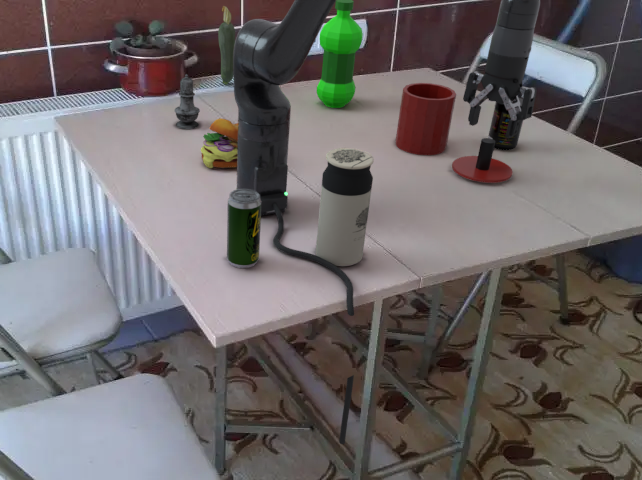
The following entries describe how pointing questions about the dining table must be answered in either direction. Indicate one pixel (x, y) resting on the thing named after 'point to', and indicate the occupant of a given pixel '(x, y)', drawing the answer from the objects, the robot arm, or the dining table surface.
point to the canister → (425, 118)
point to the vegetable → (226, 46)
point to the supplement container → (503, 128)
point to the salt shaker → (187, 106)
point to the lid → (483, 165)
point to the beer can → (243, 228)
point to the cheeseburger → (221, 145)
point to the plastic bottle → (339, 56)
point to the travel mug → (344, 206)
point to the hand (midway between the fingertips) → (491, 130)
